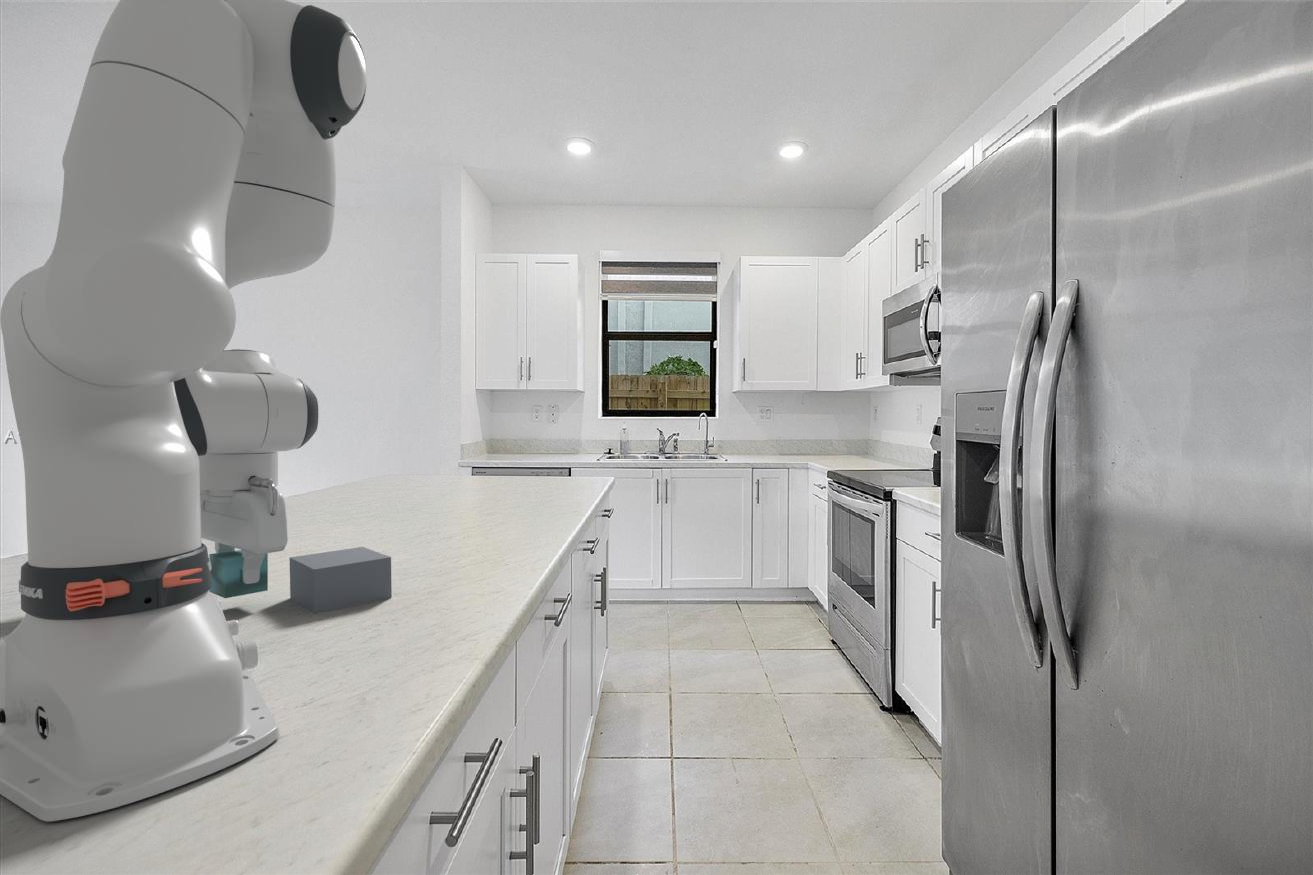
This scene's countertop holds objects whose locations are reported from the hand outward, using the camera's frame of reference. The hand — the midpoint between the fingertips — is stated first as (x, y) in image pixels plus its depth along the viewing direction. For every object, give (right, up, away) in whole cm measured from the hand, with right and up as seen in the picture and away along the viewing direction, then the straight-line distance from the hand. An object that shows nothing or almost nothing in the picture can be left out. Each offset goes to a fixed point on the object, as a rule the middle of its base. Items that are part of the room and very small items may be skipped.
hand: (239, 578), depth 84 cm
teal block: (0, -2, 0) cm, 2 cm away
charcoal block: (+11, -4, +5) cm, 13 cm away
